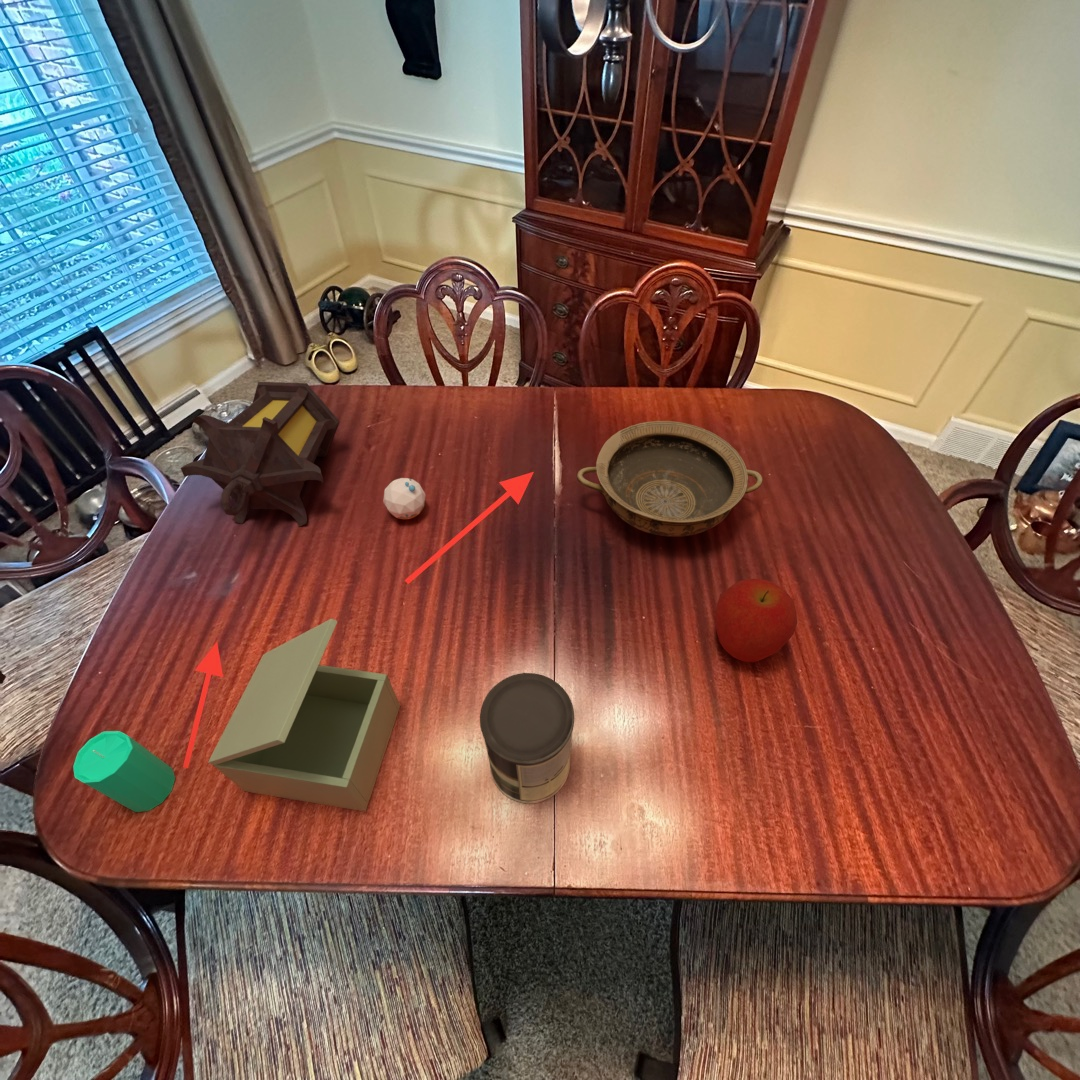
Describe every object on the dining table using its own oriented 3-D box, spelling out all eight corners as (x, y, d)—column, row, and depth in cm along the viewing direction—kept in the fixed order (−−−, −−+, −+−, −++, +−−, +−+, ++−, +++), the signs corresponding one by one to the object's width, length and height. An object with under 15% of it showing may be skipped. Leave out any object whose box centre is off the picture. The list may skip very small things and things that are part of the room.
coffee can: (479, 794, 74) (467, 751, 63) (501, 716, 80) (493, 664, 69) (562, 813, 72) (564, 772, 61) (577, 732, 78) (582, 681, 68)
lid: (338, 621, 66) (331, 617, 66) (284, 743, 57) (277, 739, 57) (268, 656, 76) (263, 654, 76) (214, 765, 67) (207, 762, 67)
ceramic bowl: (740, 465, 111) (754, 422, 103) (762, 567, 95) (781, 526, 88) (577, 459, 112) (579, 416, 105) (573, 559, 97) (575, 517, 89)
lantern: (367, 466, 119) (313, 570, 96) (252, 453, 119) (171, 554, 96) (355, 363, 105) (288, 457, 82) (224, 349, 105) (121, 438, 82)
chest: (400, 705, 81) (386, 674, 74) (365, 811, 72) (346, 787, 66) (290, 689, 83) (267, 657, 76) (243, 791, 74) (212, 765, 67)
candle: (158, 816, 72) (101, 782, 63) (112, 808, 73) (50, 773, 64) (184, 766, 76) (134, 728, 67) (141, 759, 77) (86, 720, 68)
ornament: (384, 527, 102) (373, 494, 96) (394, 497, 107) (384, 463, 101) (423, 529, 102) (415, 496, 96) (431, 499, 106) (424, 465, 100)
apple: (785, 631, 88) (817, 574, 77) (769, 688, 82) (802, 635, 71) (715, 606, 91) (737, 547, 80) (696, 659, 85) (717, 603, 75)
